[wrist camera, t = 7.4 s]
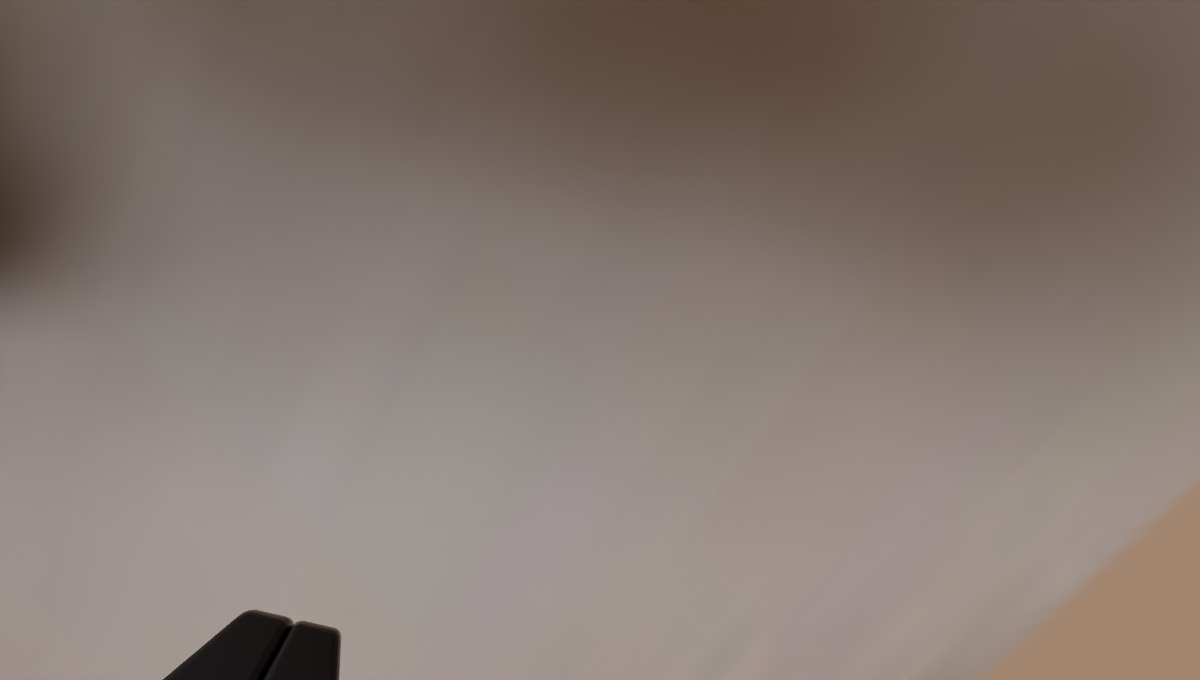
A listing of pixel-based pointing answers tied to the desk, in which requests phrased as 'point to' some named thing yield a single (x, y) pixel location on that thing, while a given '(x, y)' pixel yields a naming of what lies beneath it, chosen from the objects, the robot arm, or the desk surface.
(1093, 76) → the desk surface
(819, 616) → the desk surface
